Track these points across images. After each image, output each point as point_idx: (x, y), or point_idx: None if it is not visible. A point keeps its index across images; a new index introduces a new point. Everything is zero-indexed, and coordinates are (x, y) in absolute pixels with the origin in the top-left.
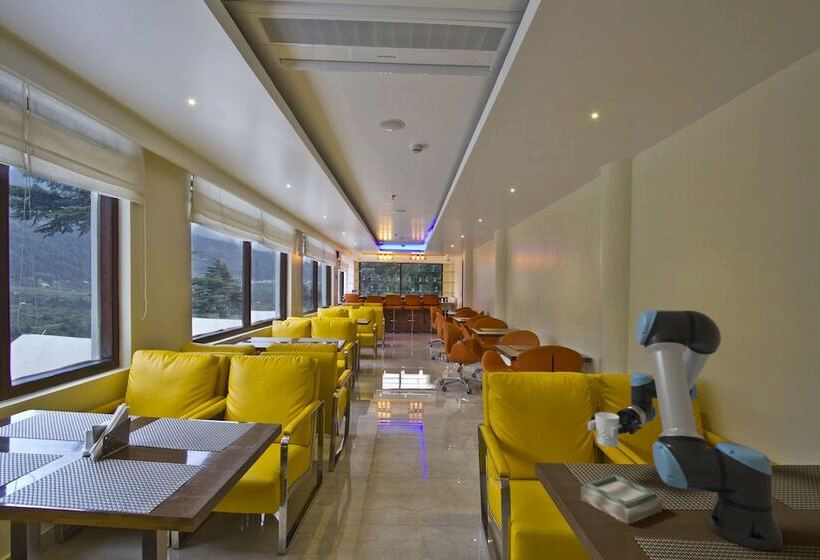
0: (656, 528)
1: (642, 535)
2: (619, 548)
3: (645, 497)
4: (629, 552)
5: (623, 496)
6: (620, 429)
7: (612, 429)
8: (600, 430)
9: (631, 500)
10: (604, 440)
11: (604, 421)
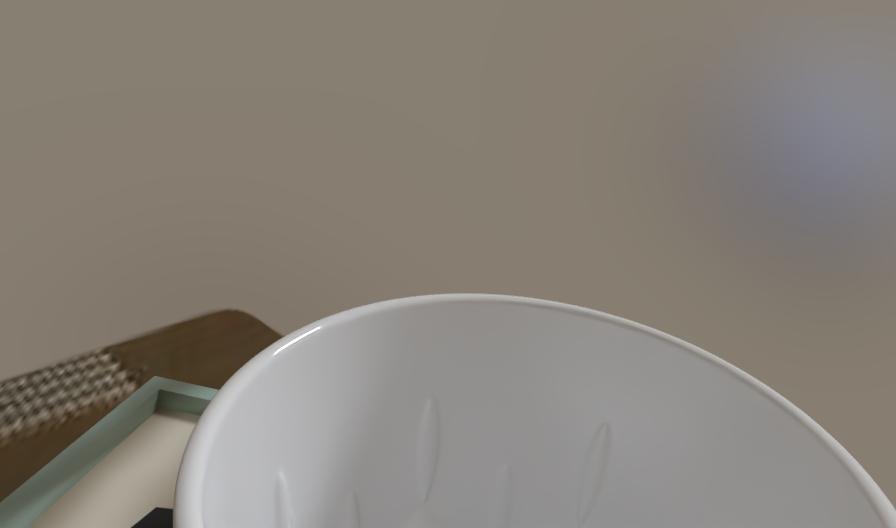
0: (17, 481)
1: (100, 411)
2: (186, 332)
3: (30, 480)
4: (156, 332)
5: (173, 473)
6: (163, 515)
7: None
8: (511, 510)
9: (127, 410)
10: None
11: (454, 351)
